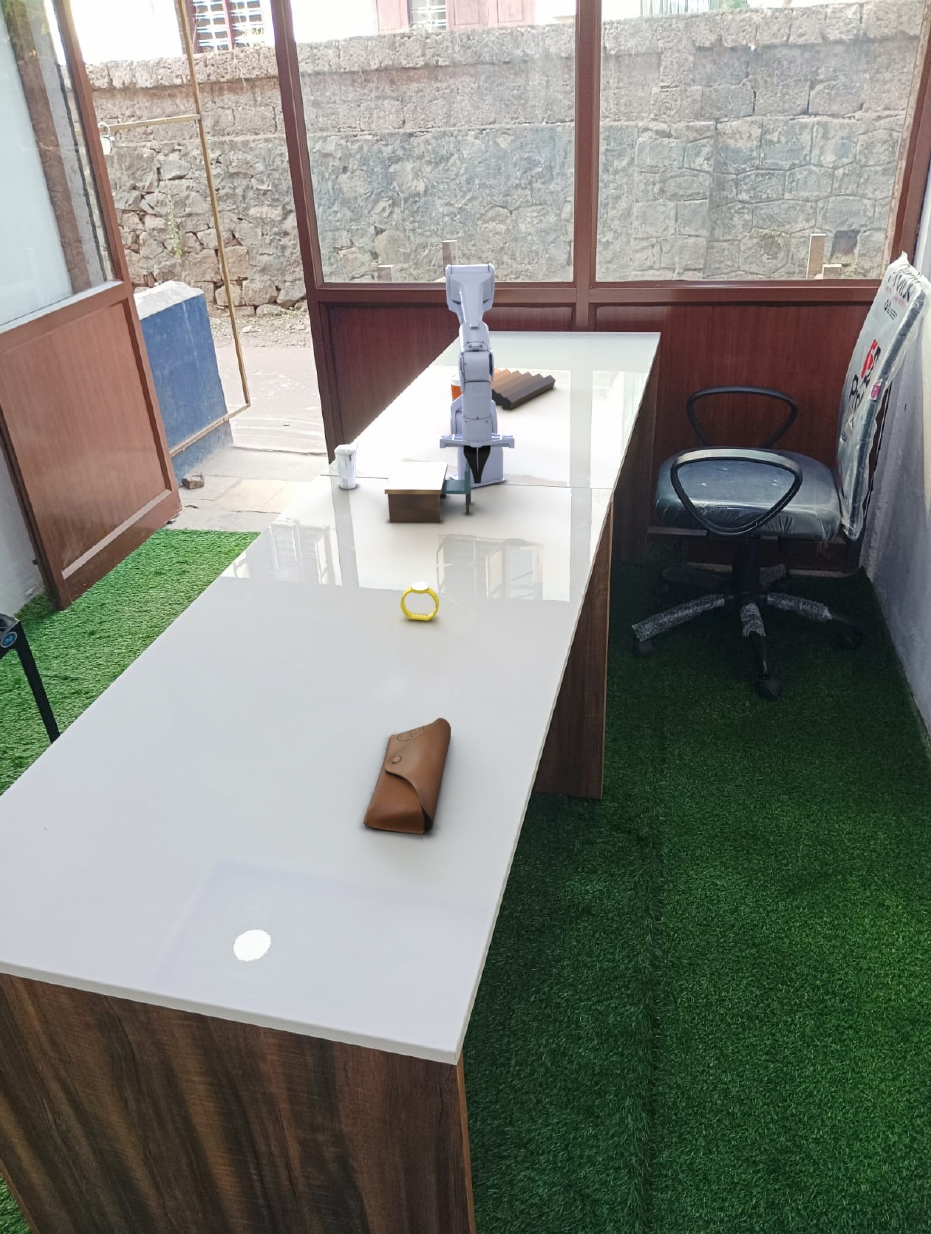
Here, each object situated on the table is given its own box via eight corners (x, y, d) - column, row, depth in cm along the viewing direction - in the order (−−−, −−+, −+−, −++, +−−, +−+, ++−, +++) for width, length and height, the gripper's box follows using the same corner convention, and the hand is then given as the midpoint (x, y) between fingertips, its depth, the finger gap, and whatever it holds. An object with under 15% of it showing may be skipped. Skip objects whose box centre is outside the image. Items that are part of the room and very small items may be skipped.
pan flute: (511, 410, 243) (555, 387, 261) (511, 397, 241) (555, 375, 260) (434, 397, 255) (481, 376, 273) (433, 385, 253) (480, 365, 271)
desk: (448, 495, 192) (447, 462, 189) (442, 524, 179) (441, 489, 176) (396, 494, 193) (394, 462, 189) (386, 523, 180) (384, 489, 176)
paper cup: (446, 435, 226) (444, 379, 219) (458, 426, 232) (456, 371, 225) (475, 439, 223) (474, 382, 216) (486, 429, 229) (486, 373, 222)
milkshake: (358, 491, 195) (355, 446, 190) (335, 489, 196) (330, 444, 191) (365, 483, 199) (361, 438, 194) (341, 482, 200) (337, 437, 195)
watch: (400, 622, 146) (398, 589, 143) (403, 613, 148) (401, 581, 145) (437, 623, 145) (436, 590, 142) (440, 615, 148) (438, 582, 145)
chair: (471, 502, 188) (470, 460, 183) (469, 514, 183) (468, 471, 178) (434, 502, 188) (433, 460, 184) (431, 513, 183) (430, 471, 179)
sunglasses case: (386, 732, 120) (410, 697, 116) (433, 756, 121) (458, 721, 118) (360, 828, 104) (386, 790, 101) (414, 854, 105) (442, 818, 102)
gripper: (437, 421, 173) (439, 489, 179) (514, 421, 172) (513, 489, 178) (440, 410, 179) (442, 476, 185) (514, 410, 178) (514, 476, 184)
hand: (477, 481), depth 182 cm, fingers closed
